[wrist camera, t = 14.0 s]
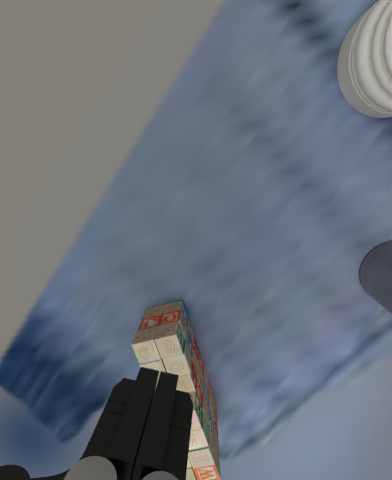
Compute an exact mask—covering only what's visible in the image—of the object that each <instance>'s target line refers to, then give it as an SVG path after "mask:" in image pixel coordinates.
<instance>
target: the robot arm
mask: <svg viewBox="0 0 392 480" xmlns="http://www.w3.org/2000/svg"><path fill="white" fill-rule="evenodd" d="M360 281H361V284H362V286H363V288H364V290H365V291H366V292H367V293H368V294H369V295H370V296H372V297H373V298H374V299H375V300H376V301H377V302H379V303H380V304H381V305H382V306H383V307H384V308H385V309H387V310H388V311H389V312H390V313H391V314H392V241H391V242H386V243H384V244H381V245H379V246H378V247H376V248H374V249H373V250H372V251H371V252H370V253H369V254H368V255H367V256H366V258H365V259H364V261H363V263H362V265H361V268H360ZM158 376H159V371H158V370H154V369H149V368H145V367H141V368H140V371H139V373H138V376H137V379H136V381H135V380H130V379H126V378H123V379H122V380H121V381H120V382H119V383H118V384H117V385H116V386H115V387H114V388H113V390H112V392H111V395H110V397H109V399H108V402H107V403H106V406H105V408H104V410H103V412H102V414H101V417H100V419H99V421H98V423H97V425H96V428H95V430H94V432H93V434H92V437H91V439H90V441H89V443H88V445H87V448H86V450H85V452H84V454H83V456H82V457H81V459H80V460H79V461H78V462H77V463H76V464H74V465H73V466H72V467H71V468H70V469H69V470H67V471H65V472H63V473H61V474H58V475H54V476H49V477H41V478H33V479H30V476H29V474H28V472H27V471H26V470H25V469H24V468H22V467H21V466H17V465H5V466H1V467H0V480H186V471H187V462H188V452H189V443H190V434H191V433H190V432H191V424H192V415H193V403H192V400H191V397H190V394H189V393H188V392H183V391H179V390H176V388H177V382H178V377H179V375H176V374H172V373H167V372H163V371H161V372H160V376H159V379H158ZM157 380H158V383H157ZM156 385H157V387H156Z"/></svg>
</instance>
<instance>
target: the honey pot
mask: <svg viewBox="0 0 392 480" xmlns="http://www.w3.org/2000/svg"><path fill="white" fill-rule="evenodd" d="M337 77H338V81H339V86H340V90H341V92H342V93H343V95H344V97H345V99H346V101H347V102H348V103H349V104H350V105H351V106H352V107H353V108H354V109H355V110H356V111H358V112H360V113H362V114H364V115H366V116H370V117H376V118H388V117H392V0H378V1H377V2H376V3H375V4H374V5H373V6H372V7H370V8H369V9H368V10H367V11H366V12H365V13H364V14H363V15H361V16H360V17H359V19H358V20H357V21H356V22H355V23H354V25H353V26H352V27H351V28H350V30H349V31H348V33H347V35H346V37H345V39H344V41H343V43H342V45H341V49H340V53H339V57H338V60H337Z"/></svg>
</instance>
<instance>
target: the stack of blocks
mask: <svg viewBox="0 0 392 480" xmlns="http://www.w3.org/2000/svg"><path fill="white" fill-rule="evenodd" d="M132 348H133V350H134V353H135V355H136V358H137V360H138V362H139V366H140V368H141V367H145V368H149V369H154V370H158V371H159V376H160V372H161V371H163V372H167V373H172V374H176V375H179V377H178V382H177V388H176V390H179V391H183V392H188V393H189V394H190V397H191V400H192V403H193V415H192V424H191V432H190V433H191V434H190V443H189V452H188V462H187V471H186V480H220V479H221V476H220V462H219V440H218V430H217V407H216V404H215V400H214V397H213V392H212V389H211V386H210V382H209V379H208V376H207V372H206V369H205V366H204V364H203V362H202V359H201V356H200V352H199V350H198V347H197V344H196V341H195V338H194V332H193V329H192V326H191V322H190V319H189V317H188V314H187V310H186V307H185V304H184V301H183V300H182V301H178V302H173V303H169V304H165V305H160V306H156V307H152V308H148V309H146V312H145V314H144V317H143V319H142V321H141V324H140V326H139V329H138V331H137V332H136V335H135V337H134V340H133V343H132ZM159 376H158V379H159ZM157 383H158V380H157ZM156 387H157V385H156Z"/></svg>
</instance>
